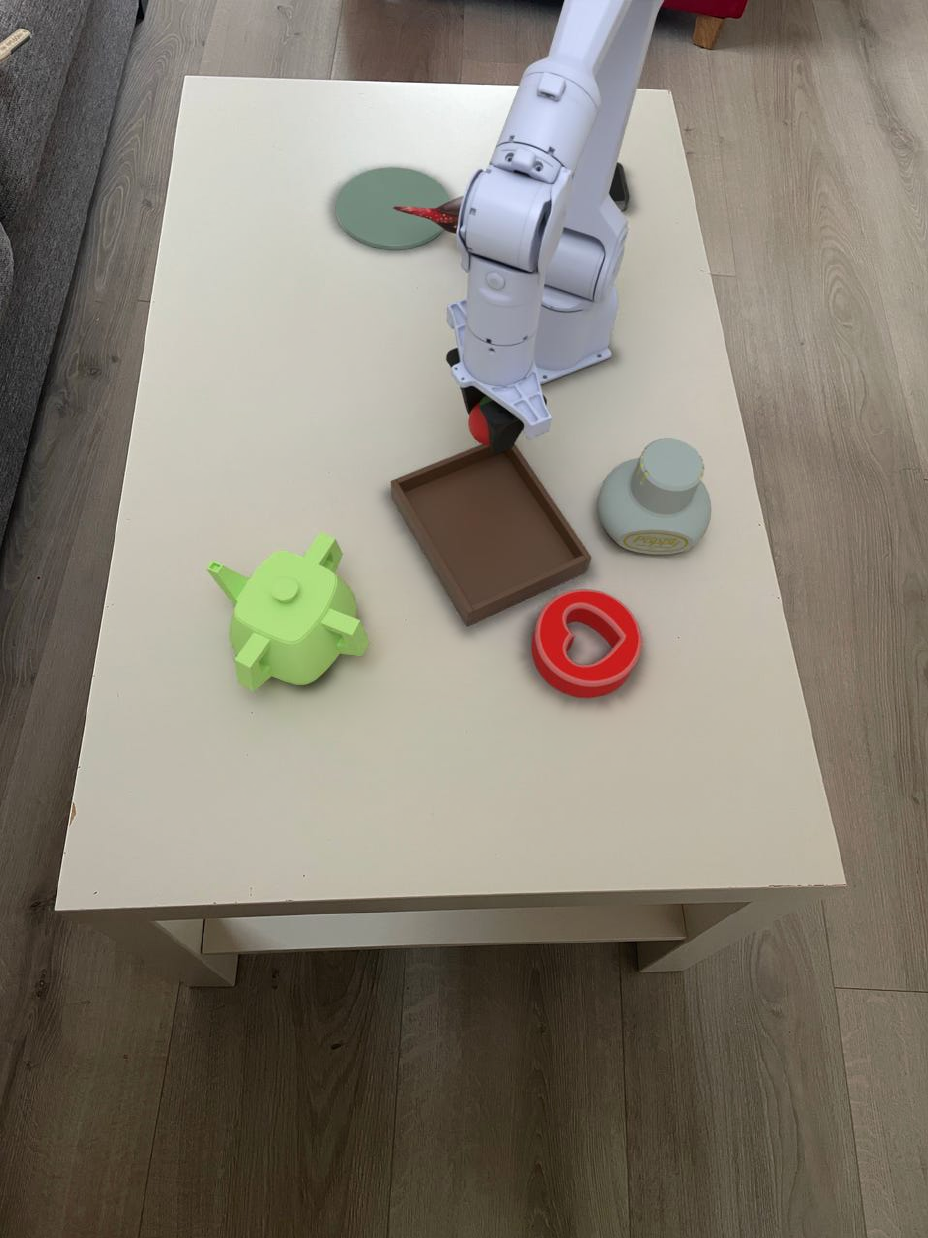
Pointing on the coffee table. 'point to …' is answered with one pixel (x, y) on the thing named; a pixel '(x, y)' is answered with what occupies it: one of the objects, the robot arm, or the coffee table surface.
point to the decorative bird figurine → (439, 214)
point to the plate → (389, 207)
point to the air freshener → (657, 499)
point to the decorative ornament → (557, 639)
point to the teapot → (291, 615)
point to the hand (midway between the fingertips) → (490, 429)
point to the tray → (488, 530)
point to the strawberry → (479, 423)
